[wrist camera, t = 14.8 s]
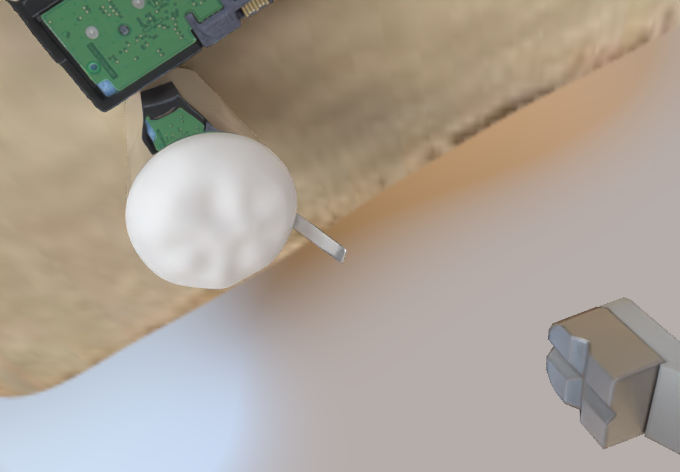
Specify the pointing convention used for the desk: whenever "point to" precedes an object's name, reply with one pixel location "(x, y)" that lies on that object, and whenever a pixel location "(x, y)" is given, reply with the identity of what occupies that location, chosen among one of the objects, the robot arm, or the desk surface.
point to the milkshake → (205, 188)
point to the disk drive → (128, 38)
